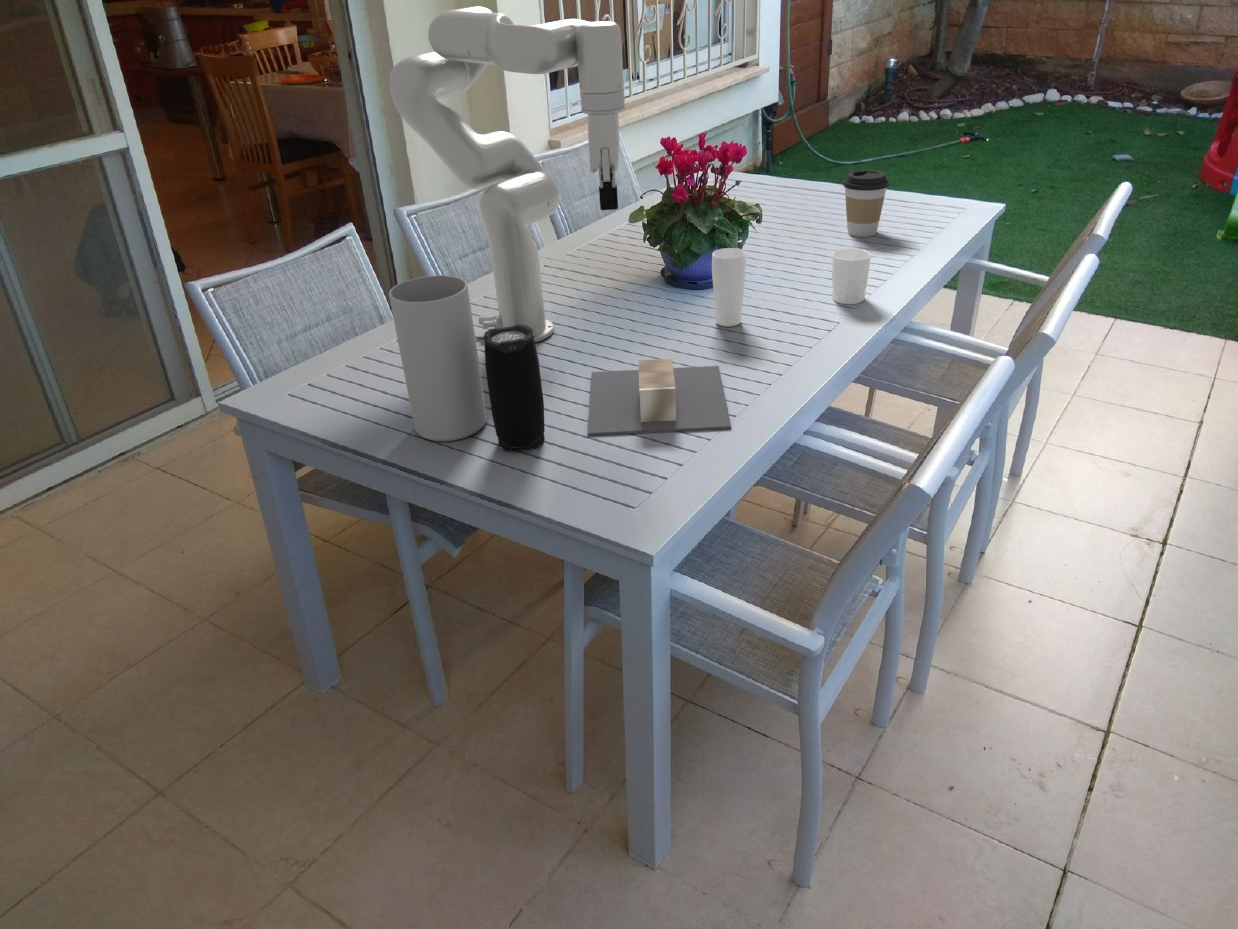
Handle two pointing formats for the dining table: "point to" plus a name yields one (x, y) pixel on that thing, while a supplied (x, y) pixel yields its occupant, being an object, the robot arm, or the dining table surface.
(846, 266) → the white cup
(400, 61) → the robot arm
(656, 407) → the wooden box
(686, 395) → the rubber mat
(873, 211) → the coffee cup
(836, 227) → the dining table surface
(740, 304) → the drinking glass
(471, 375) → the cylinder vase
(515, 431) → the portable speaker
